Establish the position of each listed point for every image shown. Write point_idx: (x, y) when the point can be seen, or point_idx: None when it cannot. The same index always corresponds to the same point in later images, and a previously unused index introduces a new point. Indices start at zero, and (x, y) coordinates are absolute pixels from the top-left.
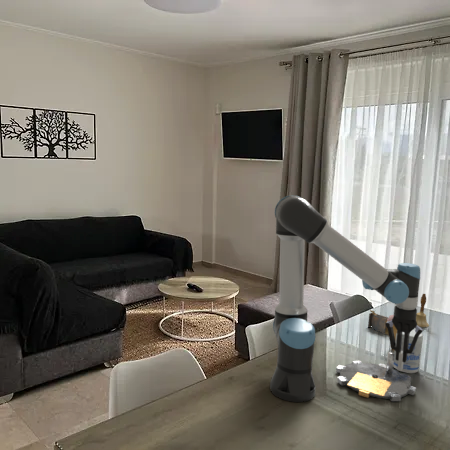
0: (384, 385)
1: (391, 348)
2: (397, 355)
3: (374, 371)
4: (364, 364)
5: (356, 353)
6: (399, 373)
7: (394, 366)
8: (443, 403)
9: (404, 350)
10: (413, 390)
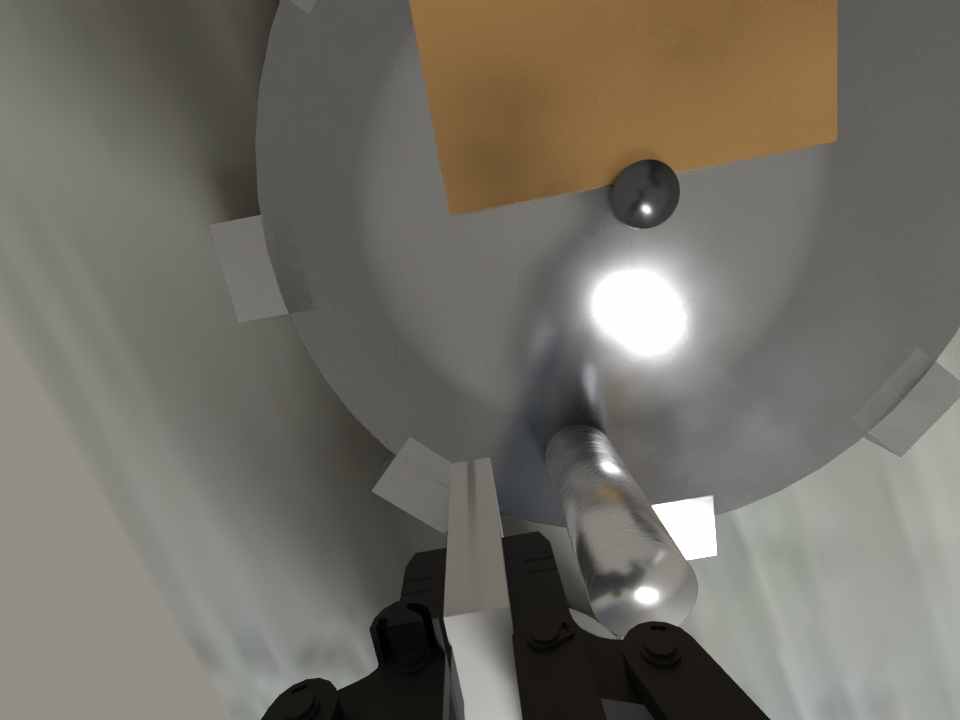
0: (472, 56)
1: (677, 628)
2: (535, 583)
3: (693, 332)
4: (833, 409)
5: (952, 641)
6: None
7: (597, 624)
8: (21, 321)
9: (413, 694)
10: (218, 228)
